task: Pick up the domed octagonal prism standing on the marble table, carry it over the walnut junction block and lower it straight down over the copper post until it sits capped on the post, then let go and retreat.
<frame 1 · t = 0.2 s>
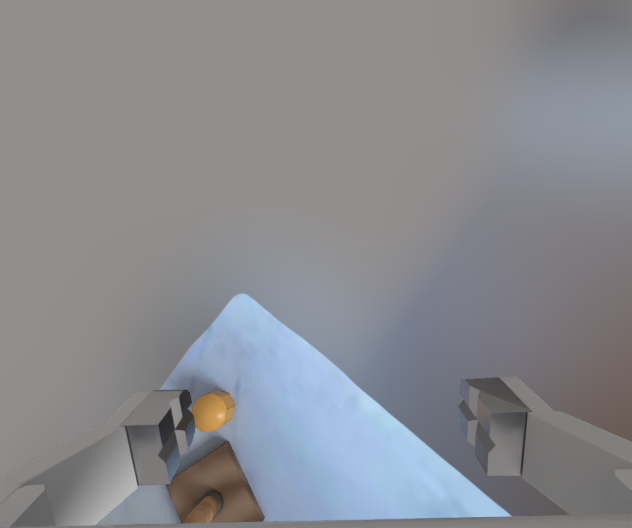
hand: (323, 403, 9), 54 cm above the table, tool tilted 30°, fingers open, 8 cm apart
junction block: (216, 497, 56), on the table
domed octagonal prism: (218, 408, 60), on the table
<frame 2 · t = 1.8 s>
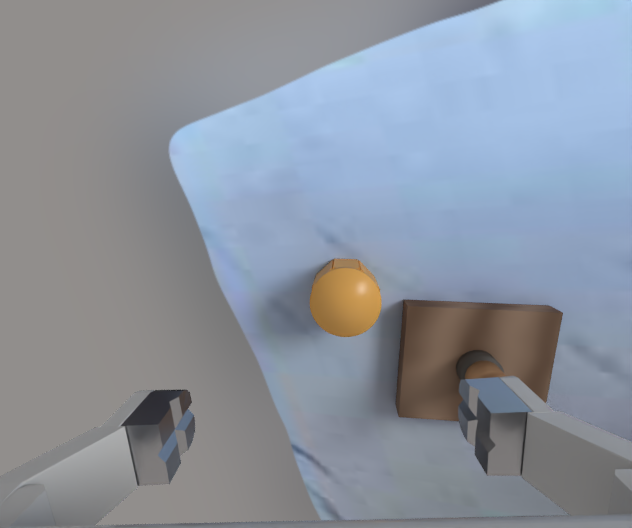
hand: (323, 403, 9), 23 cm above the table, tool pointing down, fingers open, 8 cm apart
junction block: (468, 357, 32), on the table
domed octagonal prism: (344, 287, 32), on the table
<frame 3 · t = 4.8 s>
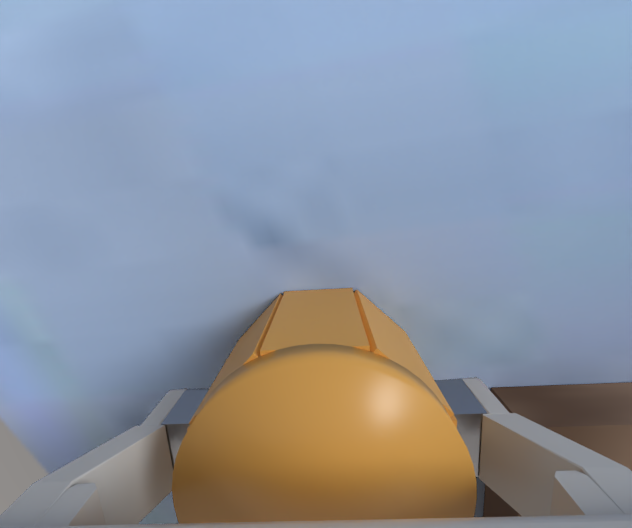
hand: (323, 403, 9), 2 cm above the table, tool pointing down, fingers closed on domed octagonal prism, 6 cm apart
domed octagonal prism: (323, 369, 11), on the table, touching gripper
when the fingers open (7 cm above the table, at t = 10.6 s): domed octagonal prism stays where it is, resting on junction block.
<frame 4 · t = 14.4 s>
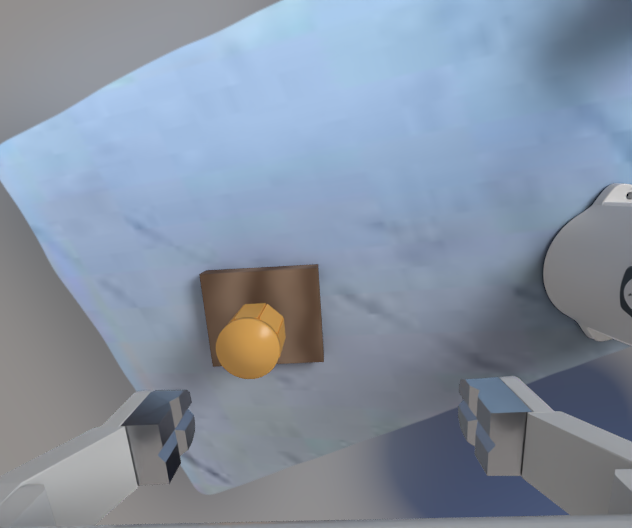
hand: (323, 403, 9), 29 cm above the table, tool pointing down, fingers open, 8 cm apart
junction block: (266, 313, 40), on the table
domed octagonal prism: (258, 328, 35), point 5 cm above the table, touching junction block
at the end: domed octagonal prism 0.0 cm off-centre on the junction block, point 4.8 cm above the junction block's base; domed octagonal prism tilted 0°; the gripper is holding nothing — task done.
